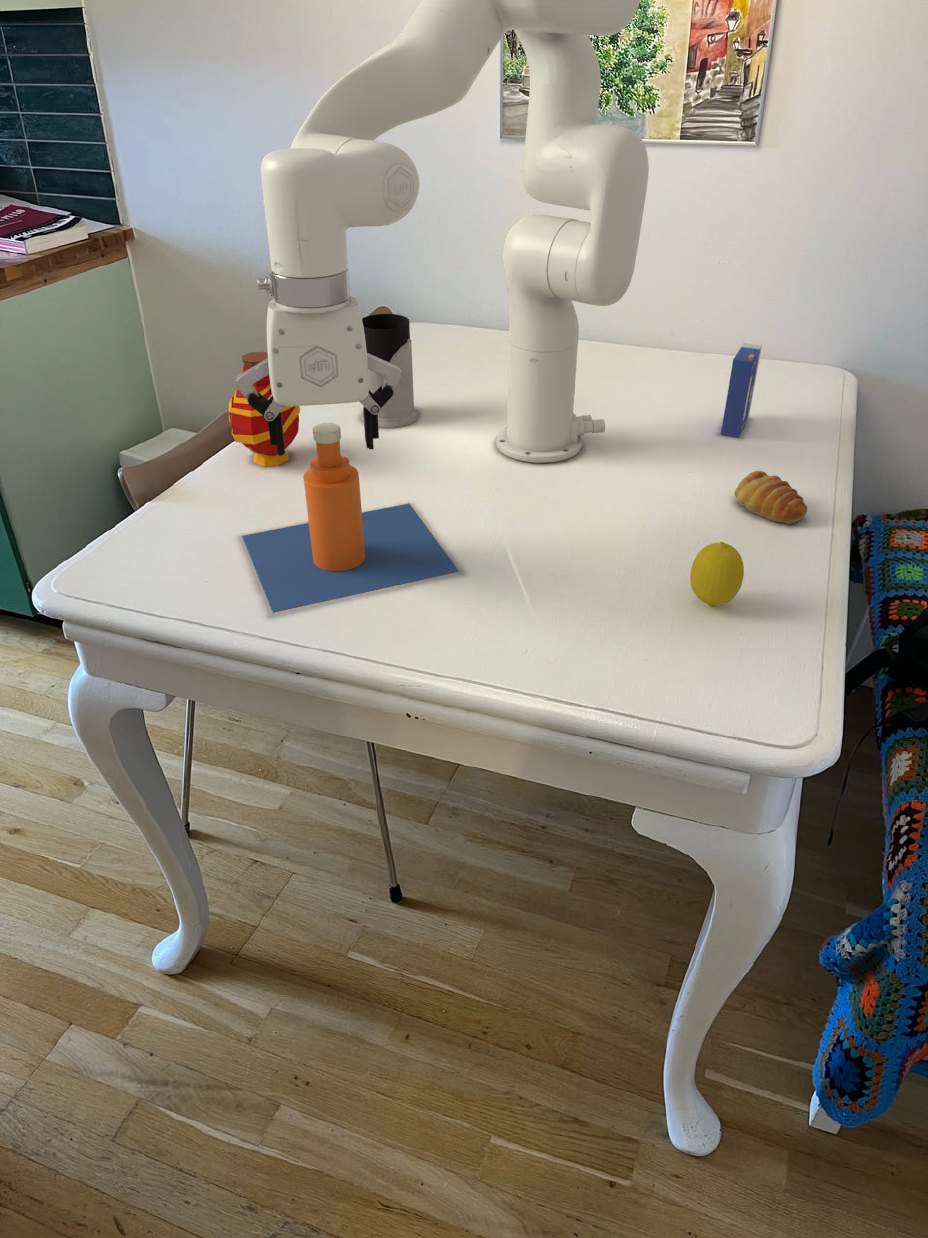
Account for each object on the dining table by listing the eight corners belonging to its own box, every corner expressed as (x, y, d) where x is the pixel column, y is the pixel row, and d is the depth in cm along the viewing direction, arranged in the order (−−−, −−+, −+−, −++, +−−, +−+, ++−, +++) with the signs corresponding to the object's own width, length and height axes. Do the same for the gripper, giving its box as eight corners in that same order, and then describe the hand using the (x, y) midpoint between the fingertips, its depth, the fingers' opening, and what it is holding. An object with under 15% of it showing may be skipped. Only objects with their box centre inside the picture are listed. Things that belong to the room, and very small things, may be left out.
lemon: (680, 592, 104) (689, 531, 100) (727, 590, 105) (739, 528, 100) (694, 621, 100) (704, 557, 95) (744, 618, 100) (757, 555, 95)
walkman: (739, 438, 138) (753, 359, 131) (720, 434, 139) (733, 356, 132) (749, 418, 144) (763, 342, 137) (731, 415, 145) (744, 339, 138)
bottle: (363, 542, 113) (352, 414, 104) (367, 569, 108) (356, 437, 99) (312, 547, 112) (297, 419, 103) (314, 574, 107) (298, 442, 98)
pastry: (818, 518, 118) (824, 491, 116) (780, 532, 115) (786, 505, 113) (763, 489, 124) (768, 463, 122) (726, 502, 122) (730, 476, 119)
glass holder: (405, 430, 141) (400, 333, 132) (320, 419, 145) (310, 323, 136) (425, 409, 148) (422, 315, 139) (344, 399, 151) (336, 306, 143)
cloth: (409, 505, 121) (409, 503, 121) (459, 573, 108) (459, 571, 108) (242, 537, 115) (241, 535, 115) (273, 614, 101) (272, 612, 101)
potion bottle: (292, 477, 128) (279, 372, 120) (223, 470, 130) (205, 367, 121) (317, 445, 137) (306, 345, 128) (251, 440, 138) (236, 341, 130)
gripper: (221, 302, 88) (245, 467, 97) (402, 294, 90) (407, 456, 100) (224, 281, 94) (246, 439, 103) (394, 274, 96) (400, 429, 106)
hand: (325, 447), depth 102 cm, fingers open, 9 cm apart
